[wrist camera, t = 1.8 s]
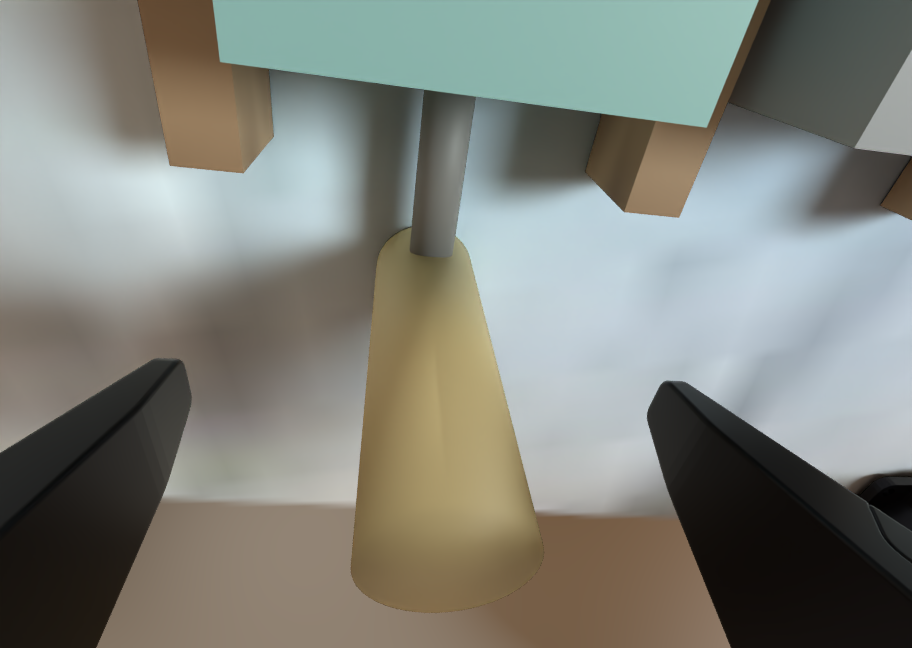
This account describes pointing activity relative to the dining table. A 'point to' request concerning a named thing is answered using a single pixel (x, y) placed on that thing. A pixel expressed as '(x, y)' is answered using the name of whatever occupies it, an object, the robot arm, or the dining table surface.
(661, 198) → the shelf
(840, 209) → the dining table surface
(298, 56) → the teal cube mallet
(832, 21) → the slate block
